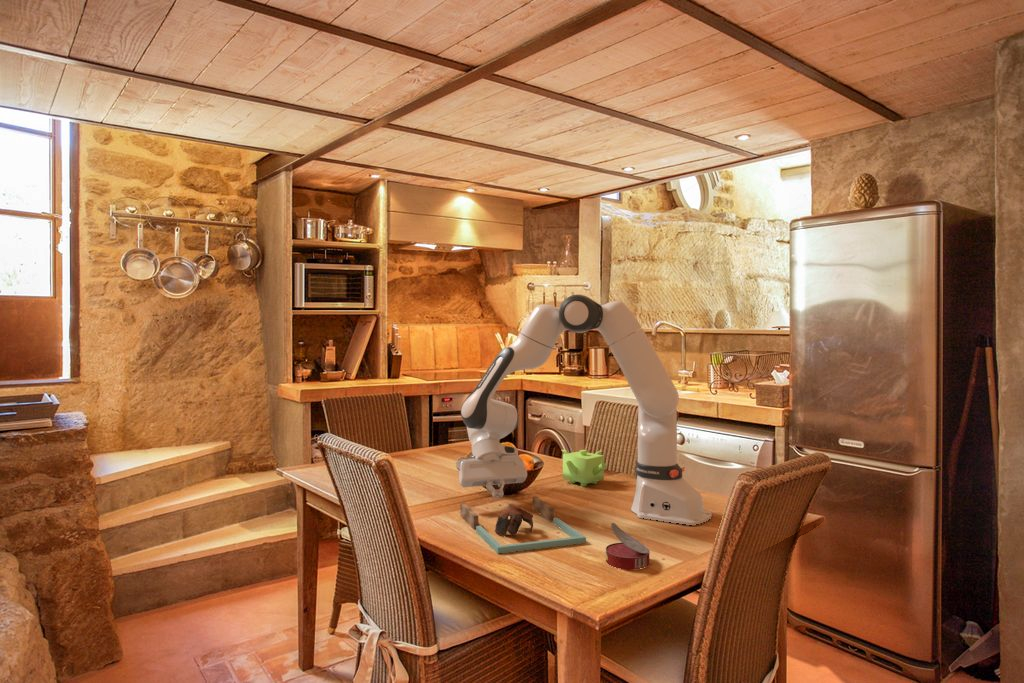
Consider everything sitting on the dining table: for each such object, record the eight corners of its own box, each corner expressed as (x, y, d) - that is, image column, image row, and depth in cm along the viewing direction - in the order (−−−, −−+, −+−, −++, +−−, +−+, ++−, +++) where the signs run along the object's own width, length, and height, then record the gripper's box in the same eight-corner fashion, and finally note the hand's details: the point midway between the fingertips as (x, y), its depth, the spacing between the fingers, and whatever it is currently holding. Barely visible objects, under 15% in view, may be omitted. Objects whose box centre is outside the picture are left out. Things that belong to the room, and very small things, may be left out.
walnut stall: (460, 515, 184) (460, 503, 184) (536, 508, 192) (536, 496, 192) (473, 529, 172) (474, 516, 172) (554, 521, 180) (554, 508, 180)
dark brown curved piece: (490, 529, 174) (504, 500, 176) (522, 545, 174) (535, 516, 176) (494, 531, 163) (508, 501, 165) (528, 549, 162) (542, 518, 165)
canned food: (620, 574, 155) (629, 532, 158) (654, 582, 147) (664, 538, 151) (589, 561, 149) (600, 517, 152) (624, 569, 141) (634, 523, 145)
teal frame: (476, 531, 170) (476, 526, 170) (557, 523, 178) (557, 517, 178) (497, 553, 154) (497, 547, 154) (585, 543, 162) (586, 537, 162)
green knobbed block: (560, 477, 231) (561, 445, 231) (601, 478, 231) (601, 446, 231) (563, 488, 216) (563, 454, 216) (606, 488, 216) (607, 454, 216)
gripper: (456, 451, 192) (465, 493, 183) (522, 447, 199) (533, 487, 190) (452, 463, 196) (461, 505, 187) (516, 459, 203) (528, 499, 194)
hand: (498, 496), depth 188 cm, fingers closed
